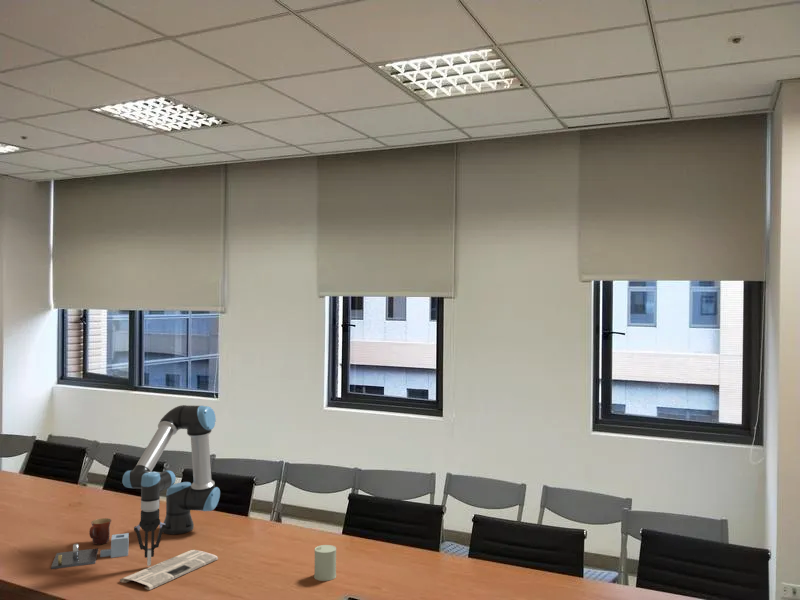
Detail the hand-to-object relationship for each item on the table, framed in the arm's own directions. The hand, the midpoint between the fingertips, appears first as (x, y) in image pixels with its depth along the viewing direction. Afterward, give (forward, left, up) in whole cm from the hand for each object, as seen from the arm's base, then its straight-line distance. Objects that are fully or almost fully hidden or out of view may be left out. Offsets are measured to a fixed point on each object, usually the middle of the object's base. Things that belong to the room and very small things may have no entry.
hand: (149, 564), depth 269 cm
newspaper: (-8, +6, -2) cm, 10 cm away
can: (-68, +36, -2) cm, 77 cm away
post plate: (+31, -22, -1) cm, 38 cm away
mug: (+23, -40, -2) cm, 46 cm away
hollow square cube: (+15, -22, -1) cm, 27 cm away
